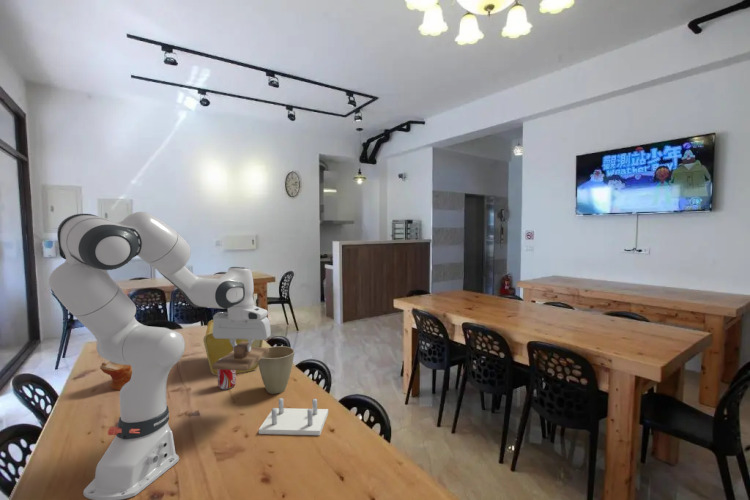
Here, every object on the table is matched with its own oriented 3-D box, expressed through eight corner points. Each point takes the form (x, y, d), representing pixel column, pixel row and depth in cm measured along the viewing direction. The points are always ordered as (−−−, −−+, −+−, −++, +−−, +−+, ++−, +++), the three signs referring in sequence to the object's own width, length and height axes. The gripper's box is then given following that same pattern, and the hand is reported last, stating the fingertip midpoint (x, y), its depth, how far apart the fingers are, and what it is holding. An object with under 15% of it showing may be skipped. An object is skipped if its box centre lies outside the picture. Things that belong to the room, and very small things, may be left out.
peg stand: (328, 413, 129) (327, 395, 129) (319, 435, 115) (319, 415, 115) (273, 412, 130) (273, 394, 130) (258, 433, 116) (258, 414, 116)
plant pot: (256, 400, 139) (255, 360, 138) (258, 384, 154) (257, 348, 153) (296, 395, 143) (295, 356, 142) (294, 380, 158) (293, 344, 157)
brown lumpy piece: (93, 390, 150) (91, 355, 149) (156, 368, 173) (155, 338, 172) (111, 397, 143) (109, 360, 143) (174, 373, 167) (173, 341, 166)
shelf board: (246, 370, 118) (246, 354, 118) (212, 369, 119) (211, 352, 119) (269, 351, 136) (268, 337, 136) (239, 350, 137) (238, 336, 137)
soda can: (229, 391, 148) (228, 362, 147) (214, 389, 149) (213, 361, 148) (239, 384, 154) (238, 356, 154) (224, 382, 156) (223, 355, 155)
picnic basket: (265, 371, 169) (263, 307, 167) (204, 380, 159) (202, 313, 158) (260, 351, 196) (259, 297, 194) (208, 358, 186) (206, 301, 185)
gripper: (208, 313, 125) (209, 353, 125) (264, 315, 122) (265, 354, 123) (218, 309, 131) (219, 347, 132) (272, 310, 129) (273, 348, 129)
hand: (242, 351), depth 127 cm, fingers closed on shelf board, 3 cm apart
